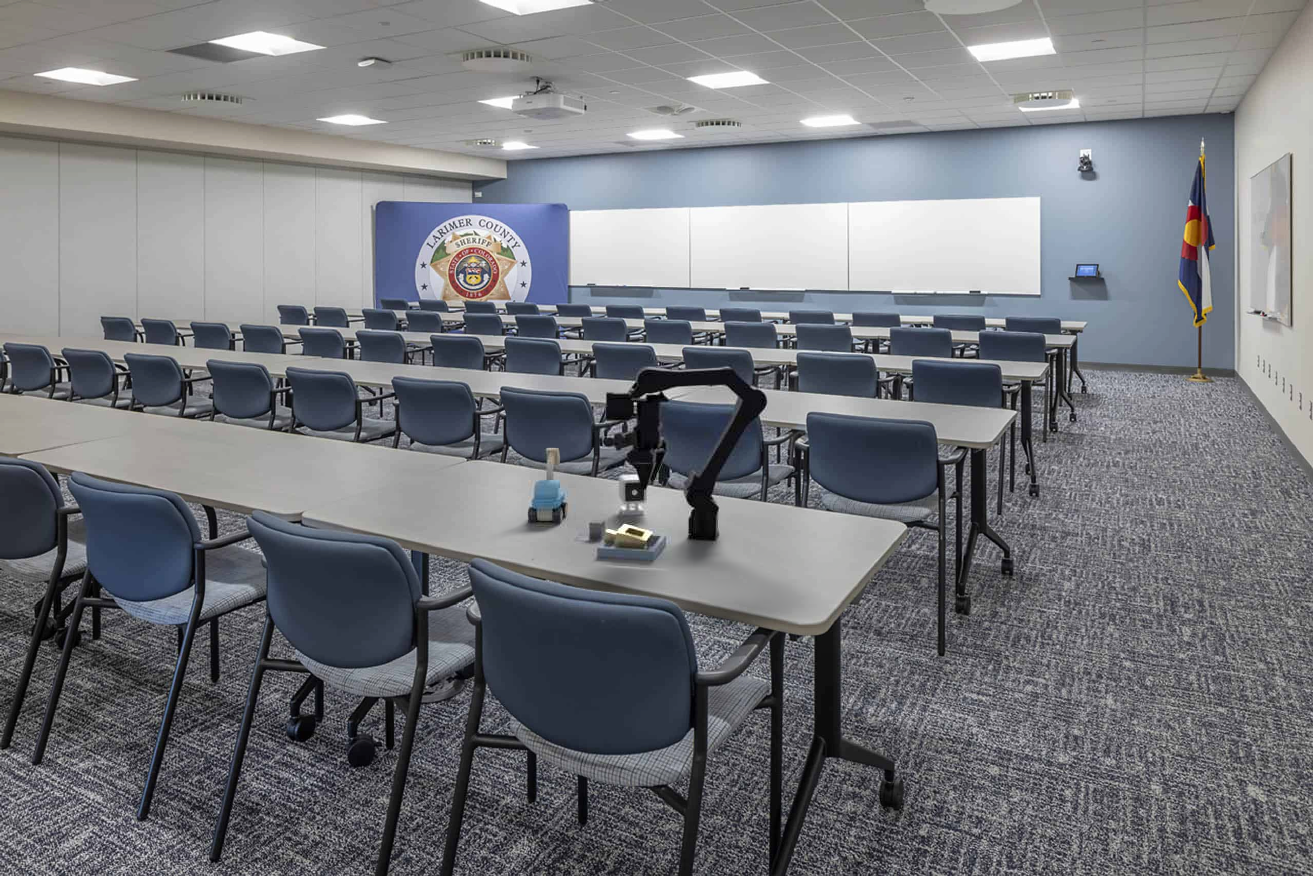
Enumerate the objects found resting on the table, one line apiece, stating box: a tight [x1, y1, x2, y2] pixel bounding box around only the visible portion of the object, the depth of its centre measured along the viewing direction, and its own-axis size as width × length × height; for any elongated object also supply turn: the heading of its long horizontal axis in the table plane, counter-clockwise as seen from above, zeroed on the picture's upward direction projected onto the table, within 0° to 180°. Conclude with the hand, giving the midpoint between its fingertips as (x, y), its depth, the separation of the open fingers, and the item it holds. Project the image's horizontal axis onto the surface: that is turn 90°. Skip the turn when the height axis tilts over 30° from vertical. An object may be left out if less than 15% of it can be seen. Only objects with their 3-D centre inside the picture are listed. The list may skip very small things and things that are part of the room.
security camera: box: [618, 473, 648, 516], centre depth 245 cm, size 6×7×10 cm
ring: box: [604, 523, 654, 550], centre depth 213 cm, size 10×7×4 cm
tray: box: [596, 533, 667, 562], centre depth 213 cm, size 13×13×2 cm
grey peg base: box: [573, 519, 607, 543], centre depth 224 cm, size 9×9×4 cm
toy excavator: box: [527, 447, 568, 524], centre depth 241 cm, size 9×17×17 cm, turn 174°
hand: (648, 484), depth 222 cm, fingers open, 9 cm apart
